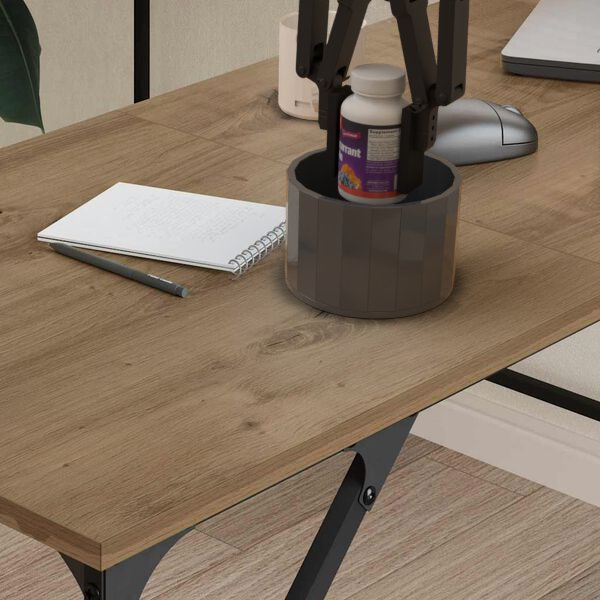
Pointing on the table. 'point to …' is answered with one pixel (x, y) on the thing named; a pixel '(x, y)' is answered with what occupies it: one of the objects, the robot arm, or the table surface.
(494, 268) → the table surface
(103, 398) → the table surface
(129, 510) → the table surface
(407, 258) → the canister
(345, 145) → the pill bottle
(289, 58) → the mug
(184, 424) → the table surface
